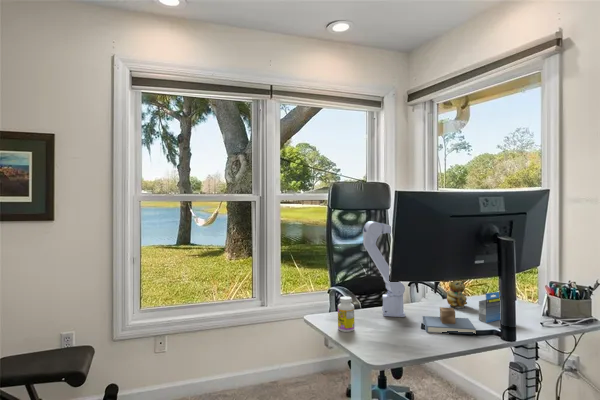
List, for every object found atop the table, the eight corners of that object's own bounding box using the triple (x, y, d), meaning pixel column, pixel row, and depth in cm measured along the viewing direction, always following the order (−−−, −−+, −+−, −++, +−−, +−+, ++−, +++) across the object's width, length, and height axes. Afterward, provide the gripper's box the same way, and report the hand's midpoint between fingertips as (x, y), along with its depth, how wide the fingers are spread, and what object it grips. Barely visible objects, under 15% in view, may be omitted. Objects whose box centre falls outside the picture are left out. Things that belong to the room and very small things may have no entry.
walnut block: (442, 323, 147) (441, 310, 147) (440, 319, 152) (439, 307, 152) (455, 324, 146) (455, 311, 146) (453, 320, 151) (452, 307, 151)
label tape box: (493, 317, 161) (492, 289, 161) (501, 320, 157) (500, 291, 157) (478, 320, 157) (477, 291, 157) (486, 323, 153) (486, 293, 153)
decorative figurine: (456, 310, 173) (455, 278, 173) (442, 305, 180) (441, 275, 180) (469, 306, 177) (469, 275, 178) (455, 303, 185) (454, 273, 185)
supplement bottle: (335, 328, 150) (334, 296, 151) (349, 326, 153) (349, 295, 153) (342, 333, 144) (342, 300, 144) (357, 331, 146) (357, 298, 147)
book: (426, 332, 144) (426, 325, 144) (422, 322, 157) (422, 316, 157) (476, 335, 140) (475, 328, 140) (468, 324, 153) (468, 318, 153)
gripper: (409, 264, 166) (410, 294, 166) (443, 264, 163) (444, 295, 163) (408, 261, 173) (409, 290, 173) (441, 262, 170) (442, 291, 170)
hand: (426, 292), depth 168 cm, fingers open, 7 cm apart
